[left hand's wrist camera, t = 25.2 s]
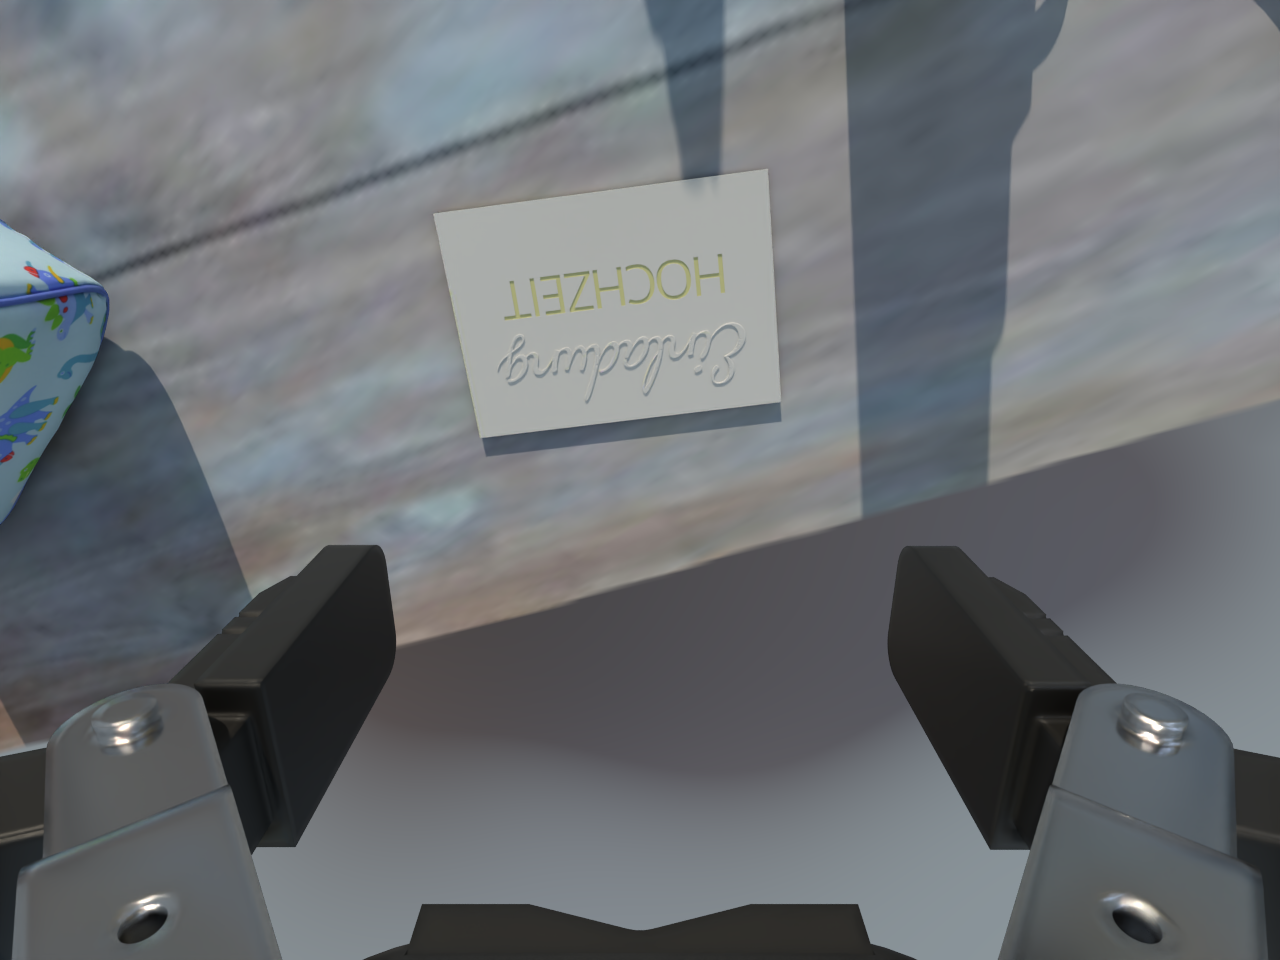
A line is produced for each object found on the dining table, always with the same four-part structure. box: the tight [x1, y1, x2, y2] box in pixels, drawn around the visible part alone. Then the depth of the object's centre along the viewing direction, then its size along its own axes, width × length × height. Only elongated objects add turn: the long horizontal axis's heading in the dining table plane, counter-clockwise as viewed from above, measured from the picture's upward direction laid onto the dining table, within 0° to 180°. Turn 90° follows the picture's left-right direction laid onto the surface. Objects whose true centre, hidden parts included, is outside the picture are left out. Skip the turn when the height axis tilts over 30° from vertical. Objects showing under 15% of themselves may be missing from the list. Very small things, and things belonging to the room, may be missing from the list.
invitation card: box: [433, 169, 781, 438], centre depth 48 cm, size 21×1×15 cm
